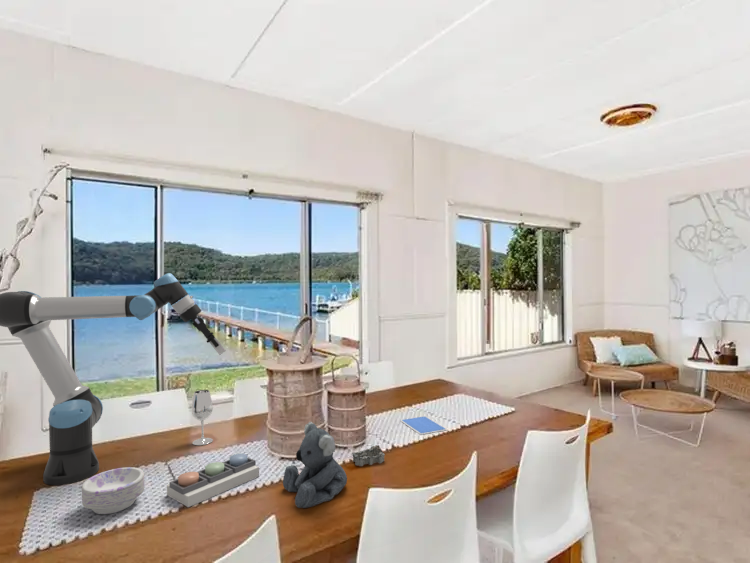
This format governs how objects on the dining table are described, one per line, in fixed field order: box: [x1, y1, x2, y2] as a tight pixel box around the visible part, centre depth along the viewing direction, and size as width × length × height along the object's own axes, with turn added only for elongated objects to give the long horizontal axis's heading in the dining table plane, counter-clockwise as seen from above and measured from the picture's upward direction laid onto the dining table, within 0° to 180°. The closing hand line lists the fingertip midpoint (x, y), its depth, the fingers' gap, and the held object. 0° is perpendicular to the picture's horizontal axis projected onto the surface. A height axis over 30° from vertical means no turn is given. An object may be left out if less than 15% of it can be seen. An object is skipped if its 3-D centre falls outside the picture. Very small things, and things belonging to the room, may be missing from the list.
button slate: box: [228, 453, 249, 466], centre depth 142 cm, size 6×6×2 cm
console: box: [166, 456, 260, 508], centre depth 135 cm, size 25×12×4 cm, turn 142°
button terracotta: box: [177, 471, 199, 486], centre depth 128 cm, size 6×6×2 cm
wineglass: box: [190, 389, 214, 446], centre depth 173 cm, size 8×8×20 cm
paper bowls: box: [81, 466, 146, 515], centre depth 124 cm, size 15×15×8 cm
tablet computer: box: [400, 416, 447, 436], centre depth 187 cm, size 19×13×1 cm, turn 22°
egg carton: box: [351, 444, 386, 467], centre depth 151 cm, size 11×8×4 cm
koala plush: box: [282, 421, 348, 509], centre depth 130 cm, size 17×18×20 cm
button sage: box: [204, 461, 224, 476], centre depth 135 cm, size 6×6×2 cm
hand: (221, 351), depth 175 cm, fingers open, 13 cm apart
